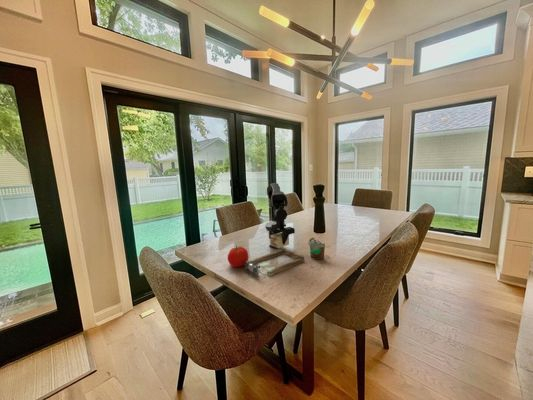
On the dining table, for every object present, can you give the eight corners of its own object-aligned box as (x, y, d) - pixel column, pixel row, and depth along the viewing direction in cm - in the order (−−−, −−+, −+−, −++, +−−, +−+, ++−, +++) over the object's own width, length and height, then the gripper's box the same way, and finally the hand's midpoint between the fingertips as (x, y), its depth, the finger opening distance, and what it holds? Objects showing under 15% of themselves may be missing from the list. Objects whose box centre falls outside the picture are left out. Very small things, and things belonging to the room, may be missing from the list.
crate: (270, 245, 124) (270, 235, 123) (282, 241, 129) (281, 231, 128) (277, 248, 119) (277, 237, 118) (289, 244, 124) (288, 234, 123)
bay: (248, 264, 123) (248, 259, 123) (283, 252, 138) (283, 247, 138) (267, 276, 109) (267, 271, 109) (304, 261, 124) (304, 256, 124)
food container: (304, 254, 134) (304, 238, 132) (313, 252, 136) (313, 237, 134) (316, 262, 122) (315, 245, 121) (325, 260, 124) (325, 243, 123)
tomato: (239, 258, 131) (238, 242, 130) (253, 263, 124) (252, 246, 122) (223, 266, 122) (222, 248, 121) (237, 272, 115) (236, 253, 113)
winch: (243, 270, 117) (243, 259, 116) (253, 266, 121) (252, 256, 120) (257, 279, 107) (256, 267, 106) (267, 275, 111) (266, 263, 110)
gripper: (257, 215, 124) (258, 242, 126) (278, 221, 109) (279, 251, 111) (272, 212, 130) (273, 237, 133) (295, 217, 116) (295, 245, 118)
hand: (280, 242), depth 124 cm, fingers closed on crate, 6 cm apart
